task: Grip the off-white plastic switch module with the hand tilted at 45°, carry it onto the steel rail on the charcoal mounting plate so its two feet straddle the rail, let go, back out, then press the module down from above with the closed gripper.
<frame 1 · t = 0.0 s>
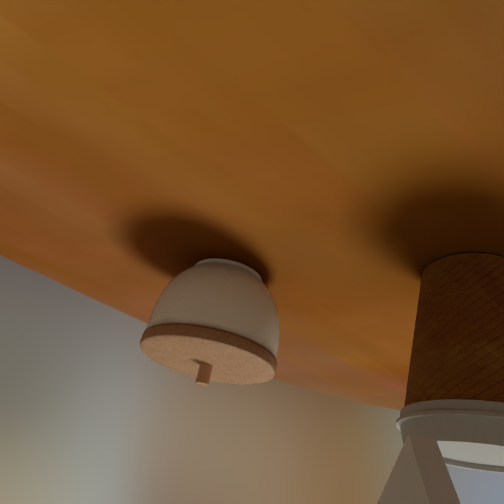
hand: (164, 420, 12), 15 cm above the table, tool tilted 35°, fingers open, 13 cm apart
lidded jar: (228, 274, 38), on the table
disposable coffee cup: (468, 273, 31), on the table
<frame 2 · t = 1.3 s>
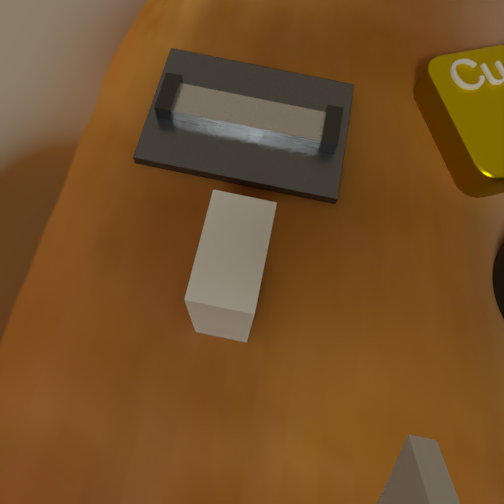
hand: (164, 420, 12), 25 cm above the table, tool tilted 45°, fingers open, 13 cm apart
mounting plate: (248, 125, 46), on the table
element tile: (493, 130, 48), on the table
switch module: (230, 293, 39), on the table
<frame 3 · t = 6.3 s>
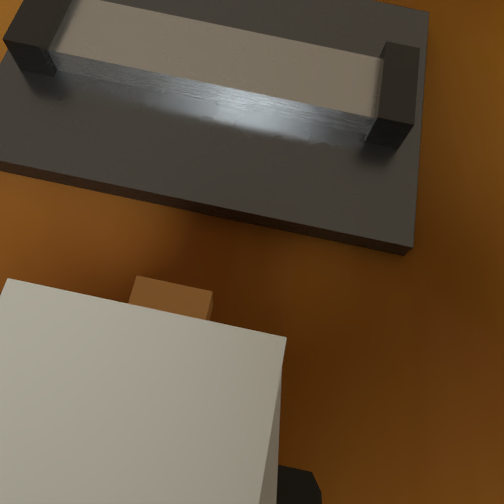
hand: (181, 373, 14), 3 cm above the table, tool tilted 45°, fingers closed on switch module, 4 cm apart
mounting plate: (219, 88, 22), on the table
switch module: (162, 489, 16), on the table, touching gripper
when the fingers open (6 cm above the table, at t = 12.0 s): switch module drops 1 cm, resting on mounting plate.
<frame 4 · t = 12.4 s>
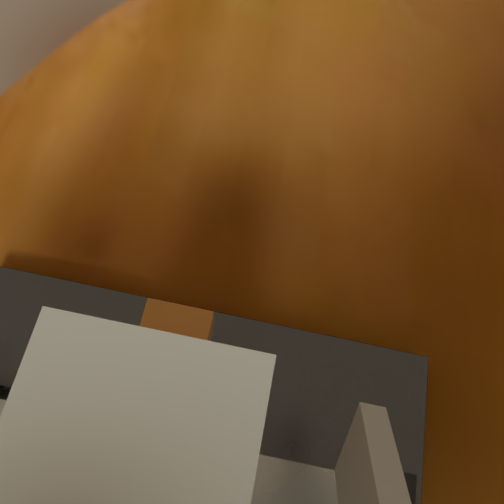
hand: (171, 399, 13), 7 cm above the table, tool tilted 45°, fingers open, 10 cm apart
mounting plate: (169, 480, 18), on the table
switch module: (167, 485, 17), point 1 cm above the table, touching mounting plate
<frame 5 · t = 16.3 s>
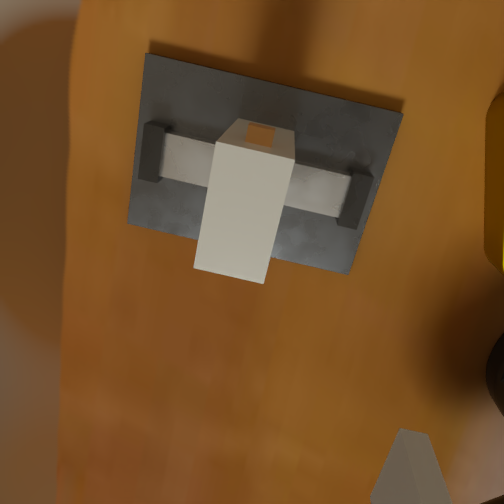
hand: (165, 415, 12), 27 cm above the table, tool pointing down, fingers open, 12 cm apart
mounting plate: (256, 170, 37), on the table
switch module: (255, 173, 36), point 1 cm above the table, touching mounting plate
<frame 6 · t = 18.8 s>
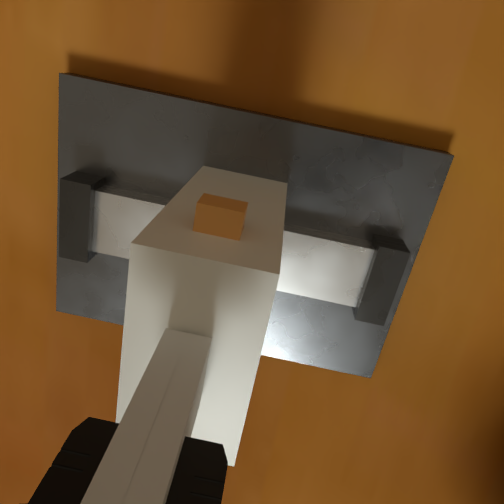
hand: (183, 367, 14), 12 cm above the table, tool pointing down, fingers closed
mounting plate: (234, 235, 26), on the table
switch module: (232, 243, 25), point 1 cm above the table, touching gripper, mounting plate
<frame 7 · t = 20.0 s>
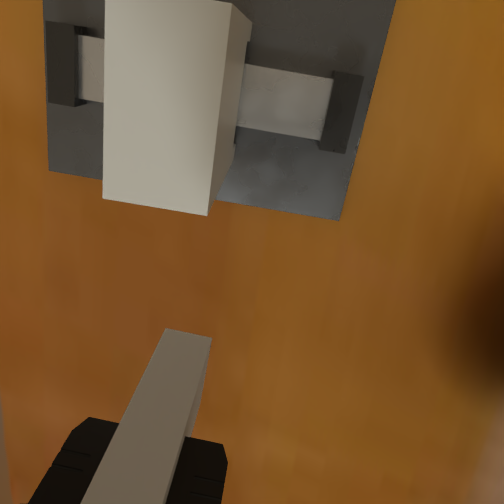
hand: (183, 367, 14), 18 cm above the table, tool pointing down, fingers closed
mounting plate: (208, 86, 28), on the table
switch module: (206, 88, 27), point 1 cm above the table, touching mounting plate
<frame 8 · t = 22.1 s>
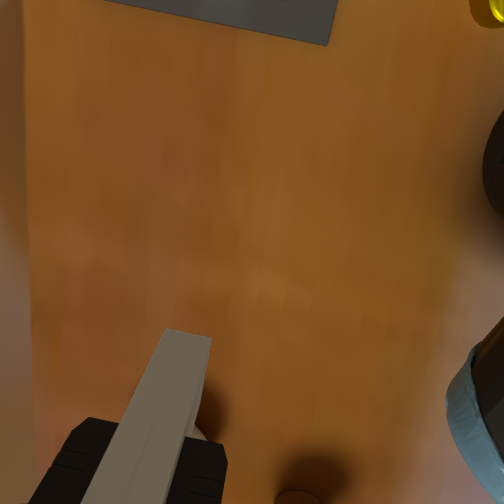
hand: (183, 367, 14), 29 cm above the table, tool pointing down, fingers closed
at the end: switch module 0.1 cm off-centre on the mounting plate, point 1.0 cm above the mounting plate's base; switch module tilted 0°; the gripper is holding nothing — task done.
